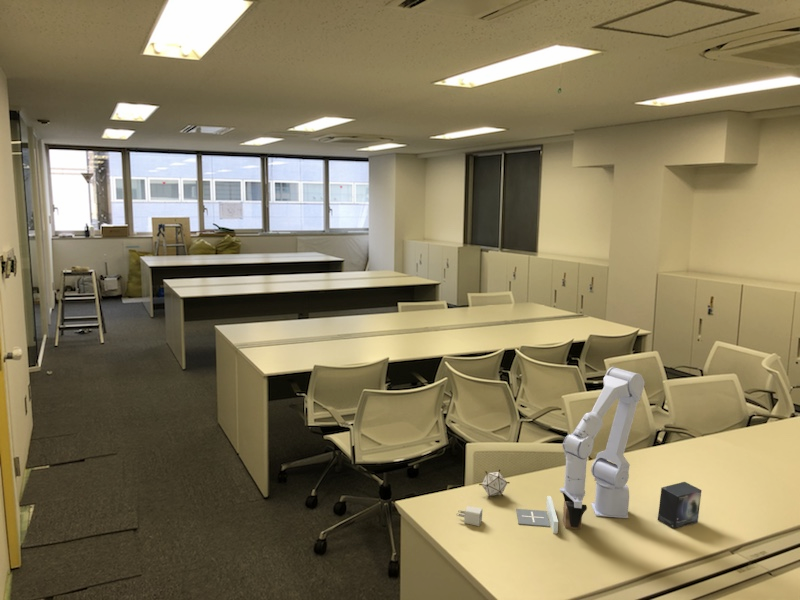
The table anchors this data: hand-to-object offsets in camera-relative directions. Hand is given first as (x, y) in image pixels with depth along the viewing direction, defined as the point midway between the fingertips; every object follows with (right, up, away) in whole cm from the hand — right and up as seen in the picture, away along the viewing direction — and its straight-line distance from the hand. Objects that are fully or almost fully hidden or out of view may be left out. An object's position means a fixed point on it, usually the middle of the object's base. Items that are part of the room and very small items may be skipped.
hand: (572, 519), depth 180 cm
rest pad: (-11, -1, +3) cm, 11 cm away
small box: (+33, -2, +4) cm, 33 cm away
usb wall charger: (-30, -1, 0) cm, 30 cm away
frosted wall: (-5, -1, +3) cm, 6 cm away
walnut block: (0, -1, 0) cm, 2 cm away
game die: (-20, +1, +17) cm, 27 cm away
